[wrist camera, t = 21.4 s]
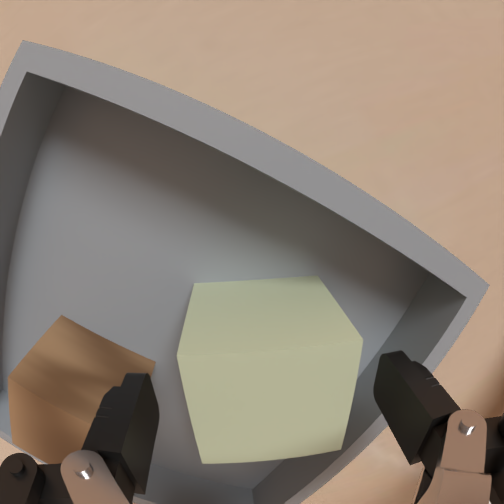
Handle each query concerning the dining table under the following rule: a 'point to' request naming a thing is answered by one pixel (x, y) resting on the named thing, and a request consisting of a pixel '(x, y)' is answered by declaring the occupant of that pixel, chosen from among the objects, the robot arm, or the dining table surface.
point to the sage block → (267, 369)
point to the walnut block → (65, 388)
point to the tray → (196, 251)
